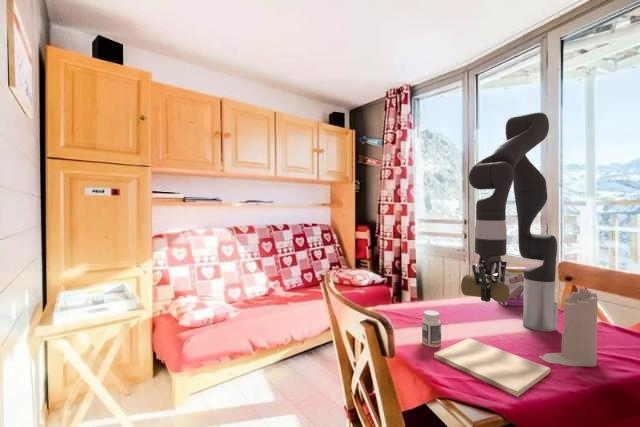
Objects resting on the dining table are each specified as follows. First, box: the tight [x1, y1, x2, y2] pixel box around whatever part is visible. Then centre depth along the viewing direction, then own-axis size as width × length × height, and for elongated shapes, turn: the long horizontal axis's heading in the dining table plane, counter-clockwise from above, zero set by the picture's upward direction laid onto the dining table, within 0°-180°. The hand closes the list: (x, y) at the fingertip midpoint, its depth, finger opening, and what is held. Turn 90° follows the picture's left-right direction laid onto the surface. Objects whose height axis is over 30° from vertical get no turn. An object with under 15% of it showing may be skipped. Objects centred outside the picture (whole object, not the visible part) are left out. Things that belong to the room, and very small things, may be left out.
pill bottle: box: [421, 310, 442, 348], centre depth 97 cm, size 6×6×10 cm
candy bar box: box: [497, 266, 529, 307], centre depth 134 cm, size 11×5×16 cm, turn 84°
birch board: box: [433, 337, 551, 398], centre depth 84 cm, size 22×18×1 cm
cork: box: [460, 274, 510, 304], centre depth 84 cm, size 6×6×11 cm
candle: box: [538, 287, 598, 368], centre depth 86 cm, size 7×14×20 cm, turn 88°
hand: (489, 299), depth 83 cm, fingers closed on cork, 3 cm apart
